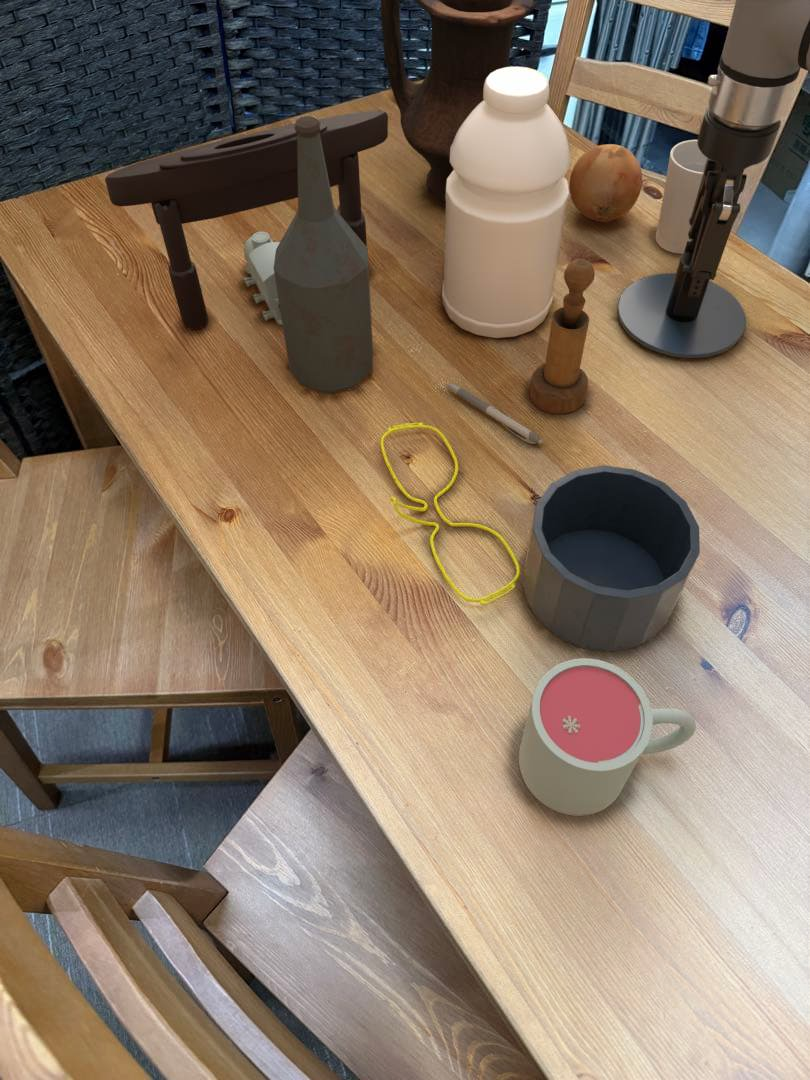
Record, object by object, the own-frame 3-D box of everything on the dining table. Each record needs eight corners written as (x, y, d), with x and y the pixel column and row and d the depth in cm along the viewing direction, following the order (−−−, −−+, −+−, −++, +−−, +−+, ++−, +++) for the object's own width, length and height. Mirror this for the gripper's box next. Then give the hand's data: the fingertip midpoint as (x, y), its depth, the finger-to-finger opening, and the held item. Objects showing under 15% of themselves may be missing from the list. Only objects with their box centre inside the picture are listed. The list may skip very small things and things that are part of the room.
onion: (626, 194, 124) (641, 126, 116) (640, 235, 118) (657, 166, 110) (560, 196, 124) (570, 128, 115) (570, 237, 118) (582, 168, 110)
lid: (740, 287, 111) (762, 228, 104) (746, 369, 102) (770, 310, 95) (618, 274, 113) (632, 215, 106) (613, 353, 104) (628, 295, 97)
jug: (536, 160, 129) (564, -72, 105) (518, 230, 119) (544, -9, 94) (401, 144, 132) (397, -84, 108) (371, 212, 122) (360, -25, 97)
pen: (538, 450, 94) (539, 442, 93) (443, 391, 100) (443, 382, 99) (543, 445, 95) (545, 437, 94) (448, 386, 101) (449, 377, 99)
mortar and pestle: (533, 371, 102) (552, 239, 87) (587, 378, 101) (616, 246, 87) (526, 410, 98) (545, 279, 84) (582, 418, 97) (612, 287, 83)
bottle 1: (294, 338, 106) (258, 93, 82) (373, 337, 106) (361, 92, 82) (288, 397, 100) (248, 151, 75) (372, 396, 100) (359, 150, 75)
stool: (85, 134, 94) (361, 73, 102) (135, 291, 111) (368, 228, 119) (117, 209, 86) (415, 136, 94) (166, 366, 103) (415, 293, 111)
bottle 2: (515, 259, 115) (540, 37, 92) (572, 319, 107) (614, 94, 85) (422, 289, 111) (424, 66, 89) (474, 353, 104) (491, 128, 81)
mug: (526, 818, 70) (541, 774, 62) (512, 714, 76) (524, 661, 68) (690, 809, 71) (726, 764, 63) (665, 706, 76) (694, 652, 68)
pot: (673, 537, 87) (698, 477, 80) (673, 662, 79) (701, 609, 71) (530, 517, 89) (541, 456, 81) (515, 638, 80) (526, 583, 73)
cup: (643, 249, 116) (664, 166, 106) (655, 217, 120) (677, 134, 110) (702, 262, 114) (729, 179, 104) (713, 229, 118) (739, 146, 109)
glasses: (533, 592, 83) (539, 565, 80) (440, 625, 81) (442, 598, 78) (433, 421, 97) (434, 390, 93) (351, 445, 95) (349, 415, 91)
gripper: (704, 69, 92) (654, 256, 110) (708, 154, 82) (652, 343, 101) (776, 75, 91) (714, 262, 110) (789, 161, 81) (718, 351, 100)
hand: (685, 301), depth 105 cm, fingers closed on lid, 4 cm apart
